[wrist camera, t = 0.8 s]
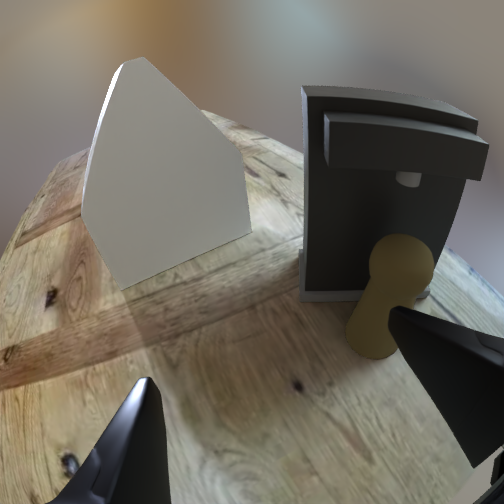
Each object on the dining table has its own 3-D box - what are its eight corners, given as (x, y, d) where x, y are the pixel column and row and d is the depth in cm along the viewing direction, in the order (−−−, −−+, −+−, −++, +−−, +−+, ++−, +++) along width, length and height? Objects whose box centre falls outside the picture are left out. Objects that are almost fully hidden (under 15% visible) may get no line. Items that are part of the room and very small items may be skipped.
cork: (412, 335, 23) (457, 254, 16) (371, 371, 21) (415, 294, 14) (374, 299, 27) (400, 213, 20) (332, 327, 25) (350, 239, 18)
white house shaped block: (121, 290, 32) (38, 98, 15) (110, 232, 42) (60, 94, 26) (252, 232, 38) (227, 41, 21) (209, 190, 48) (184, 54, 32)
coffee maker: (433, 315, 24) (504, 135, 11) (299, 322, 26) (301, 104, 13) (410, 255, 31) (445, 101, 18) (298, 256, 33) (294, 85, 20)
